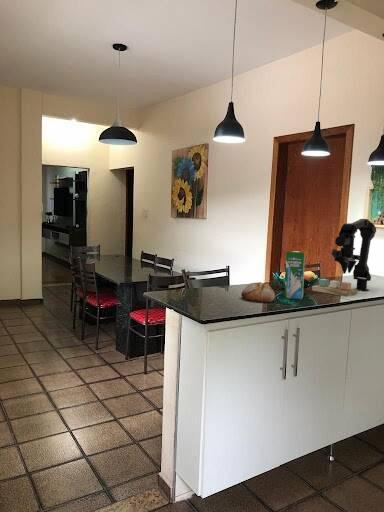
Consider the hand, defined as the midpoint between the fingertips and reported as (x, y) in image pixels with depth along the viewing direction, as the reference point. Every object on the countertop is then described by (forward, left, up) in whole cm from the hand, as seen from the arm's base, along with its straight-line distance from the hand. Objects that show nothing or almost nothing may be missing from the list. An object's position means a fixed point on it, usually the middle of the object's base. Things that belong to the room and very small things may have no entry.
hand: (346, 273), depth 232 cm
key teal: (0, -14, -9) cm, 17 cm away
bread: (+53, -20, -12) cm, 58 cm away
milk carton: (+33, -12, -12) cm, 37 cm away
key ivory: (0, -7, -9) cm, 11 cm away
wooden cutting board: (0, -7, -12) cm, 14 cm away
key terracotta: (0, 0, -9) cm, 9 cm away
